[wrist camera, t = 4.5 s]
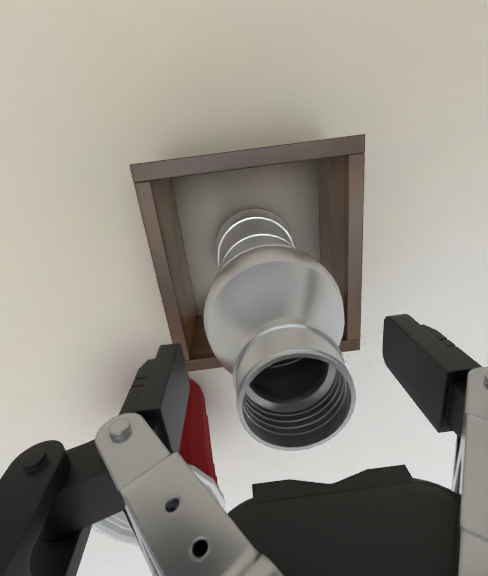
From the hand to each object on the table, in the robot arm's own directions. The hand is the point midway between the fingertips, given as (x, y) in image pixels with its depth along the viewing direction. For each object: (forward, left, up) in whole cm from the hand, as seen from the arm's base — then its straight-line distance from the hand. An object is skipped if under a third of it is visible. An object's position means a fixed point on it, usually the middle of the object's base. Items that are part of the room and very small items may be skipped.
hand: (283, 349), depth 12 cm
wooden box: (0, 0, -17) cm, 17 cm away
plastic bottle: (0, 0, -17) cm, 17 cm away
